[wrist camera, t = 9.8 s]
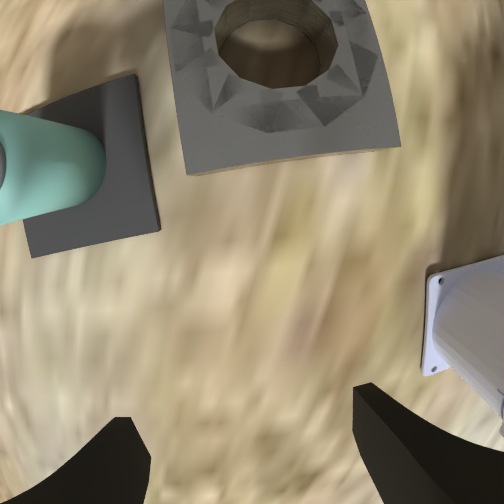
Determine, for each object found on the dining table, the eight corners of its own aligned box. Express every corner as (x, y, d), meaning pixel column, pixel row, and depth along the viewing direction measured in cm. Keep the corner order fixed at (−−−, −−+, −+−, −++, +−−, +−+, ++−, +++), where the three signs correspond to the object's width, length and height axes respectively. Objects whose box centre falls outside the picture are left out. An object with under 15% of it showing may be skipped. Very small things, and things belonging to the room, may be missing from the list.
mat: (137, 76, 15) (134, 74, 15) (161, 229, 17) (158, 231, 17) (16, 123, 15) (11, 122, 15) (36, 256, 17) (31, 258, 17)
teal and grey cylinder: (102, 120, 15) (19, 91, 8) (110, 199, 16) (27, 219, 9) (39, 139, 15) (-53, 130, 8) (46, 211, 16) (-45, 237, 9)
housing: (330, -21, 14) (345, -50, 11) (372, 151, 17) (401, 146, 14) (171, -6, 14) (159, -36, 11) (196, 176, 17) (186, 175, 13)
